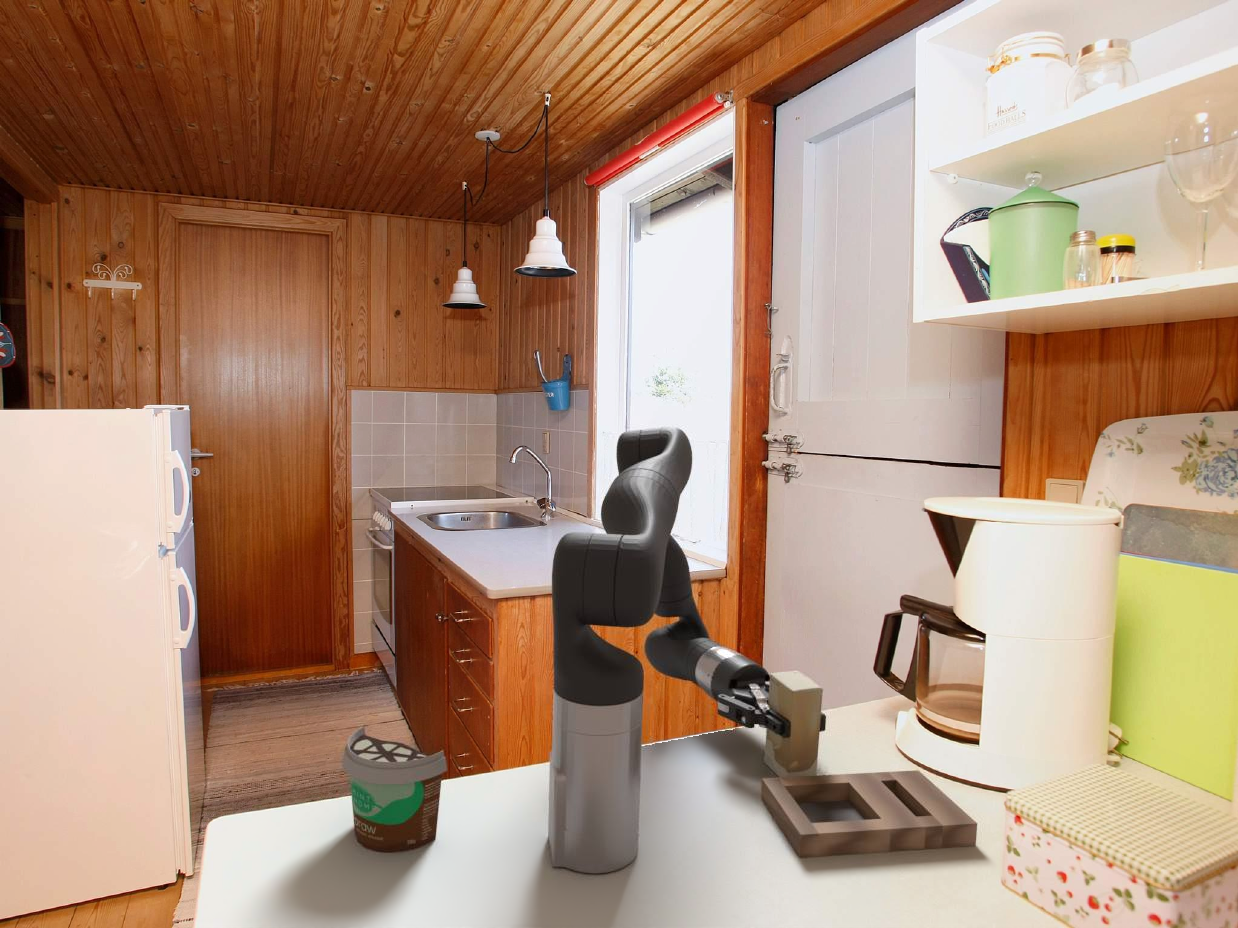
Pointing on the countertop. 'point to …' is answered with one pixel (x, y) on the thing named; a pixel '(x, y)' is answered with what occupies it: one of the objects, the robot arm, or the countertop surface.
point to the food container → (392, 793)
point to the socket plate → (865, 813)
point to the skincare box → (794, 724)
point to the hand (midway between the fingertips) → (805, 726)
